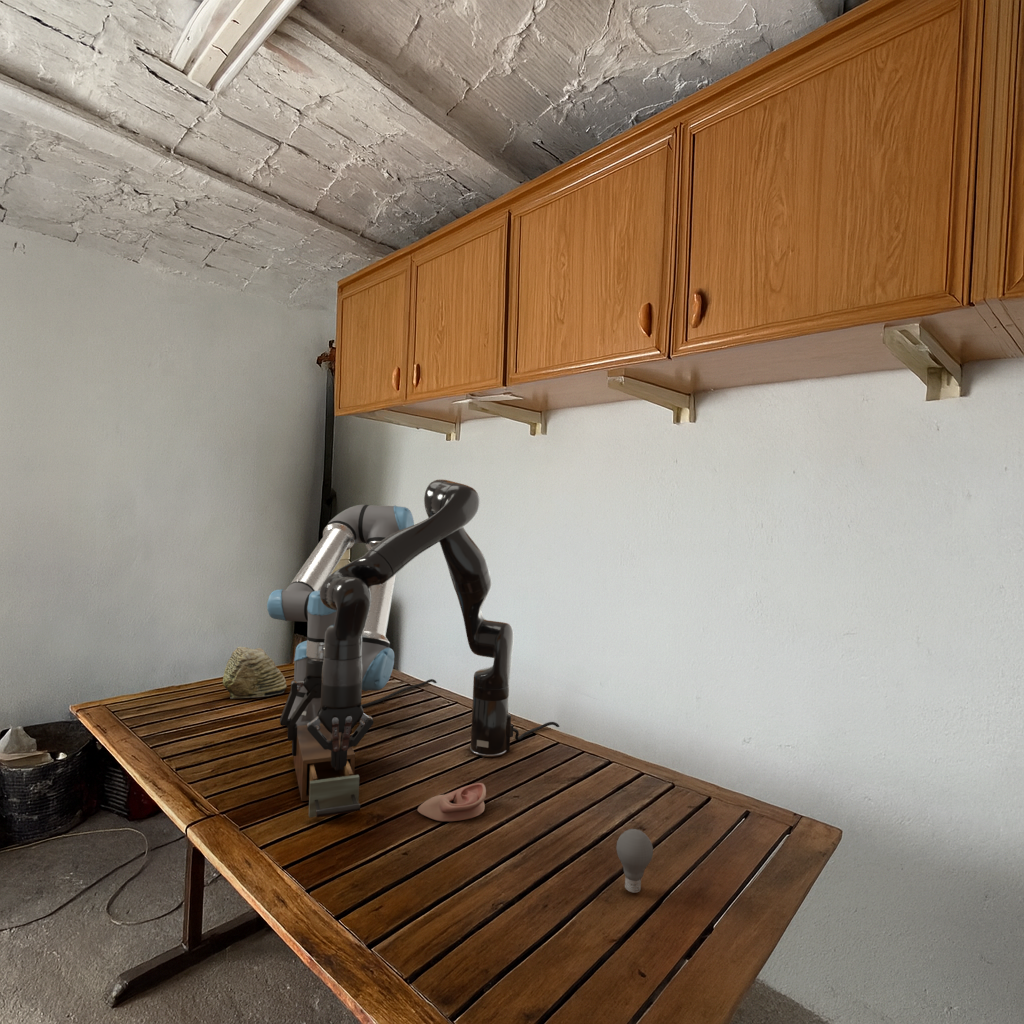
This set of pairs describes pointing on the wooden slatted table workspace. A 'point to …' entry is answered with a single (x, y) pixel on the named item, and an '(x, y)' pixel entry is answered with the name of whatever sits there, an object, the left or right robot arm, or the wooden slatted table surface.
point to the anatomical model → (456, 804)
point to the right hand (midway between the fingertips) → (338, 768)
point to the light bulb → (634, 857)
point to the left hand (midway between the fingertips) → (319, 750)
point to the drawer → (332, 789)
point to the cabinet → (313, 756)
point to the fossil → (252, 674)
